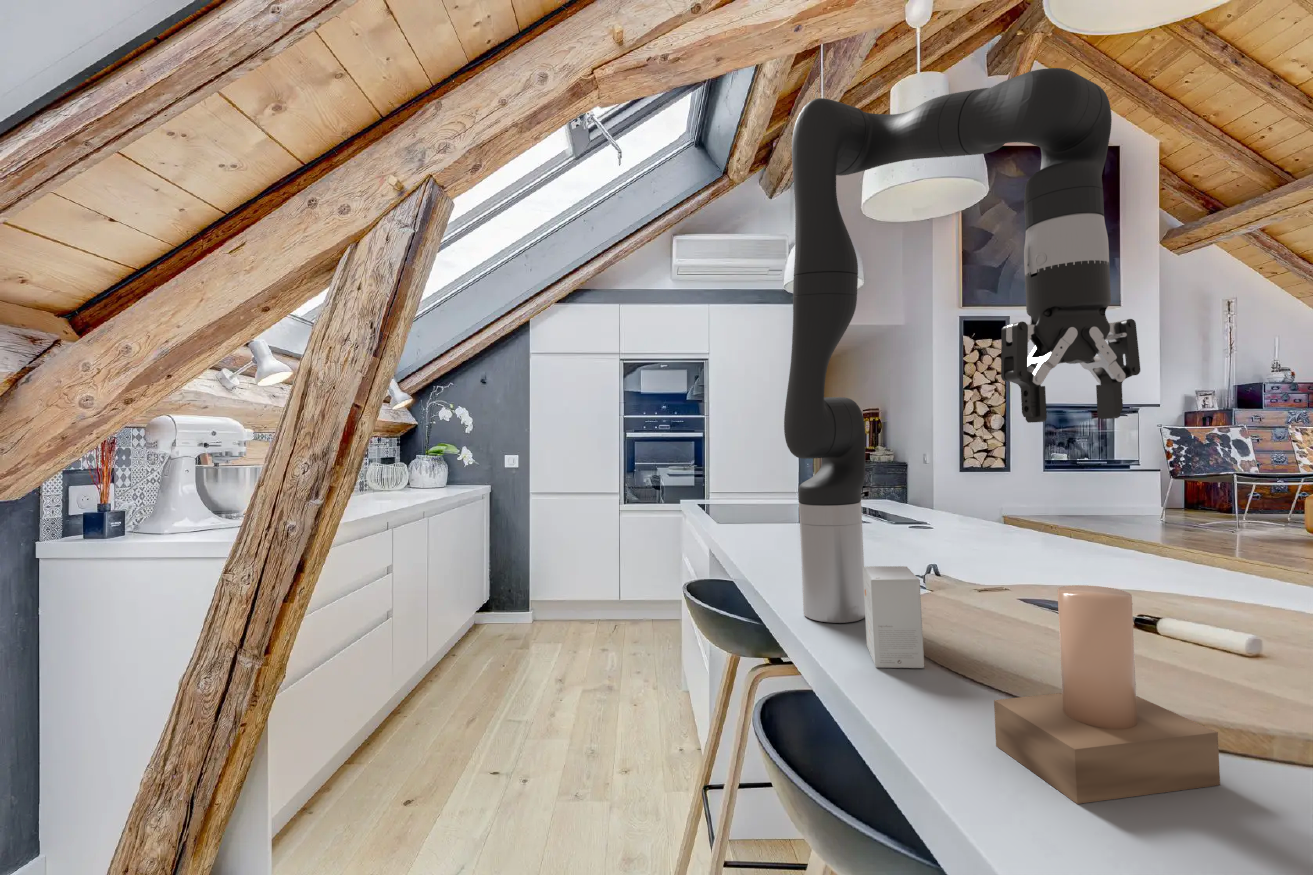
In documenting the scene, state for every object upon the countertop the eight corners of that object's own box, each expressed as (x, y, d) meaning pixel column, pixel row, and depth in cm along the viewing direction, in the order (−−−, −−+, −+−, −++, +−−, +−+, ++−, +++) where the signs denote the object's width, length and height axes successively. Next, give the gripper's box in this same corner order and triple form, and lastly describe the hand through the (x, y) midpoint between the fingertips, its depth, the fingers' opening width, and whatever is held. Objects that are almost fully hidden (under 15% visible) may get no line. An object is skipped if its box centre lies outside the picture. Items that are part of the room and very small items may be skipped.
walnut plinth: (996, 745, 56) (993, 699, 56) (1118, 731, 57) (1116, 686, 57) (1077, 803, 47) (1074, 749, 47) (1220, 784, 48) (1217, 732, 48)
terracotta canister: (1048, 705, 54) (1043, 587, 54) (1101, 699, 55) (1096, 583, 55) (1096, 731, 49) (1090, 602, 49) (1154, 725, 50) (1148, 597, 50)
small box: (925, 670, 74) (921, 579, 74) (874, 668, 75) (870, 579, 75) (911, 647, 82) (908, 565, 82) (866, 646, 83) (862, 565, 83)
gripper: (1097, 276, 72) (1103, 419, 72) (981, 277, 70) (987, 424, 70) (1157, 256, 65) (1165, 416, 64) (1029, 257, 63) (1036, 422, 63)
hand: (1072, 420), depth 67 cm, fingers open, 8 cm apart
